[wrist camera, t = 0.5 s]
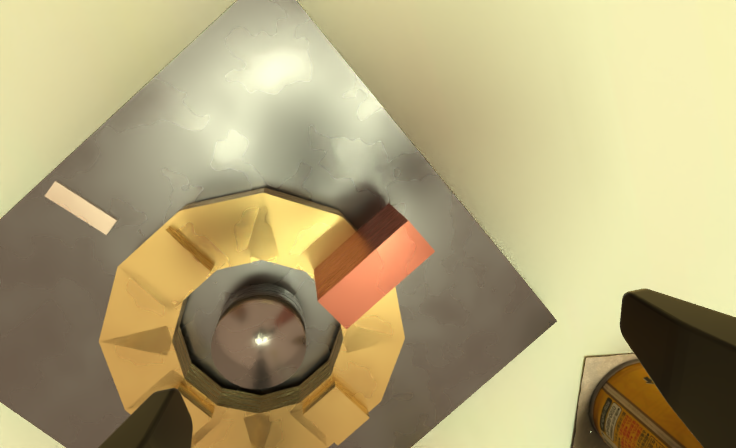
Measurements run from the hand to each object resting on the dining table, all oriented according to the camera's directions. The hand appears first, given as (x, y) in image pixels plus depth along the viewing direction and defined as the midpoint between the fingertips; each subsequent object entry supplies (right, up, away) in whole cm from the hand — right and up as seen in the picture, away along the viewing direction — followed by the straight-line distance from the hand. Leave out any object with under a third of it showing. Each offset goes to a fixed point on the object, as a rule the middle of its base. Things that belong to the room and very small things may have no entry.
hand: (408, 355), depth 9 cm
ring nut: (-5, -2, +13) cm, 14 cm away
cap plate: (-6, -2, +14) cm, 16 cm away
